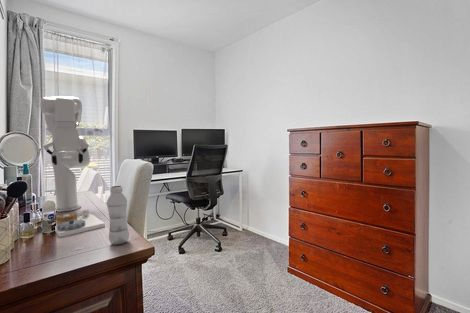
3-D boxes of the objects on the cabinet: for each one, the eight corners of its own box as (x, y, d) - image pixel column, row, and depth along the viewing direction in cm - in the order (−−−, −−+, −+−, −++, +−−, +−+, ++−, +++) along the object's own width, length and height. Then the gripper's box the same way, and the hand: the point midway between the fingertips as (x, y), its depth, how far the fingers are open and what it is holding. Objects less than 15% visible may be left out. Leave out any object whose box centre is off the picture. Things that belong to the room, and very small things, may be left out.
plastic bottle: (119, 248, 86) (116, 188, 84) (104, 245, 88) (101, 187, 87) (133, 240, 92) (131, 185, 91) (118, 238, 94) (116, 184, 93)
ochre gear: (55, 222, 111) (55, 215, 111) (74, 218, 116) (74, 211, 116) (58, 226, 106) (58, 218, 105) (78, 221, 110) (78, 215, 110)
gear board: (50, 225, 112) (50, 215, 111) (91, 217, 123) (91, 207, 122) (59, 237, 97) (58, 225, 97) (104, 226, 108) (104, 216, 108)
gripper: (85, 126, 124) (87, 161, 126) (40, 125, 112) (43, 164, 114) (89, 126, 118) (91, 162, 120) (43, 125, 107) (45, 166, 109)
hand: (68, 163), depth 117 cm, fingers open, 9 cm apart
